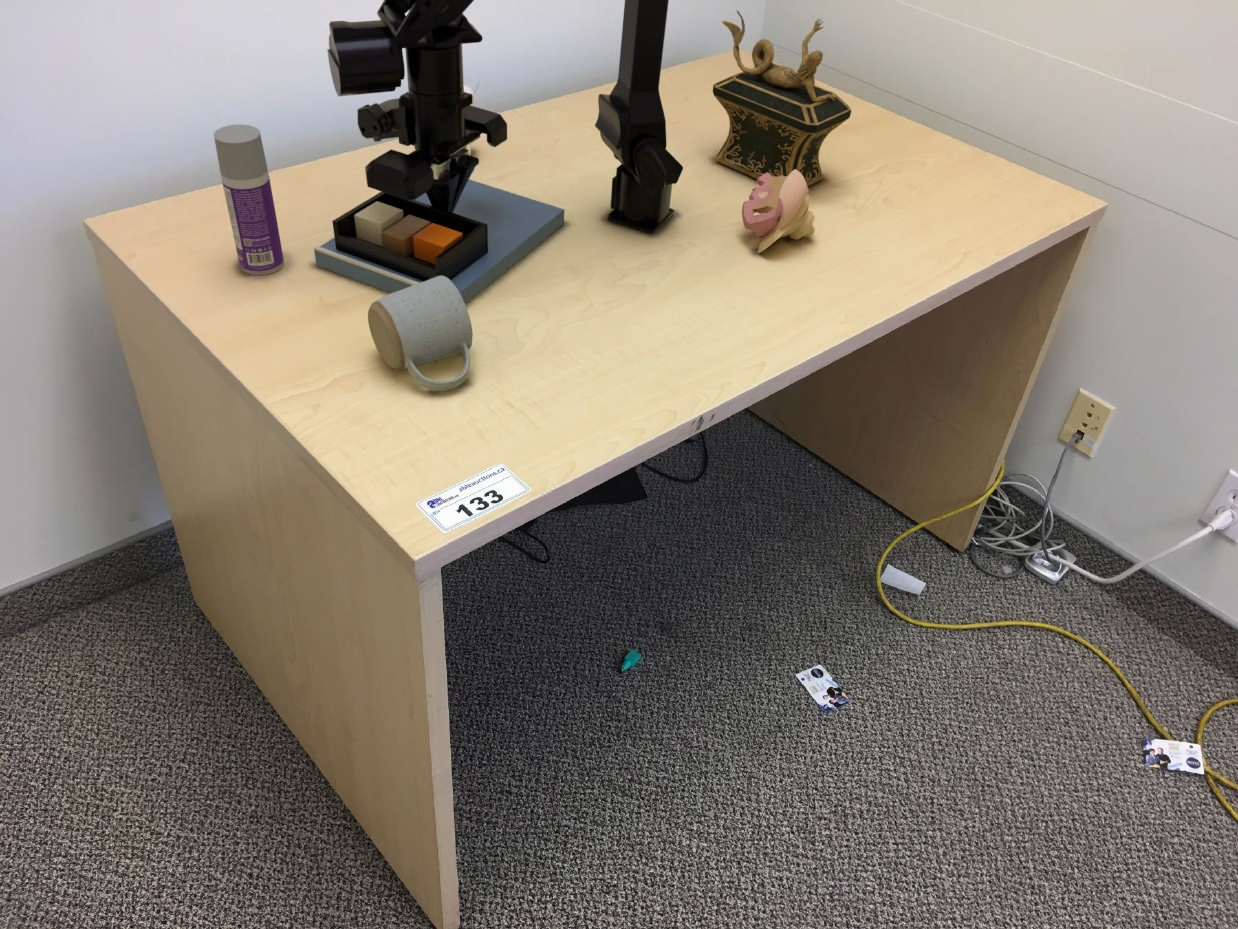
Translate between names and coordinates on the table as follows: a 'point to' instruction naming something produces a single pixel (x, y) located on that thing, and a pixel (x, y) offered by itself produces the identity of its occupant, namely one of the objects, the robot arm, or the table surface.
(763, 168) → the decorative box
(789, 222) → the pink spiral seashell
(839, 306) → the table surface
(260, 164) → the container
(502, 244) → the blue flat slab
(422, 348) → the ceramic mug
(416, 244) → the black open tray
